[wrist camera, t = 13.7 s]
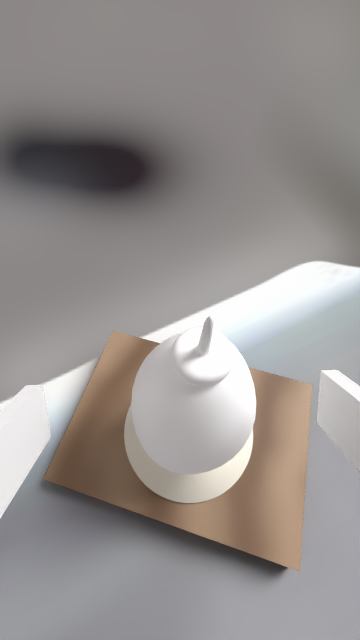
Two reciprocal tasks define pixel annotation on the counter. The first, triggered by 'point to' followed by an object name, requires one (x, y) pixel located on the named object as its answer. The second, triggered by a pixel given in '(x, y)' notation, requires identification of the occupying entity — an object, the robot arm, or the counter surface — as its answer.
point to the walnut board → (193, 489)
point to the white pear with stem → (193, 401)
